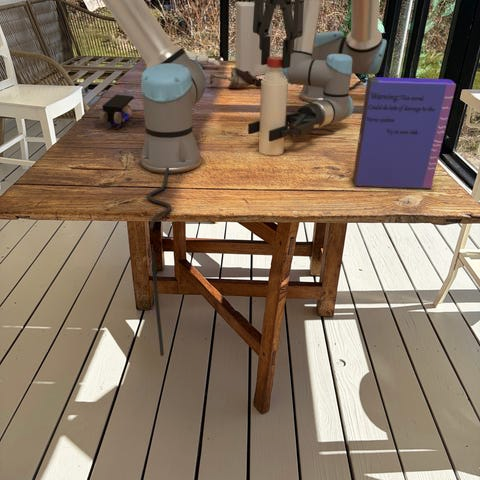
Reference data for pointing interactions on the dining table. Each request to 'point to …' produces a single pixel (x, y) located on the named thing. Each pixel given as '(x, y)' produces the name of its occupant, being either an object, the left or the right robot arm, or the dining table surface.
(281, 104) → the bottle
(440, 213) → the dining table surface
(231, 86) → the figurine
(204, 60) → the toy
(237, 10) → the tall white box
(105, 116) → the figurine character
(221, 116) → the dining table surface
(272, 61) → the cap
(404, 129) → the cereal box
